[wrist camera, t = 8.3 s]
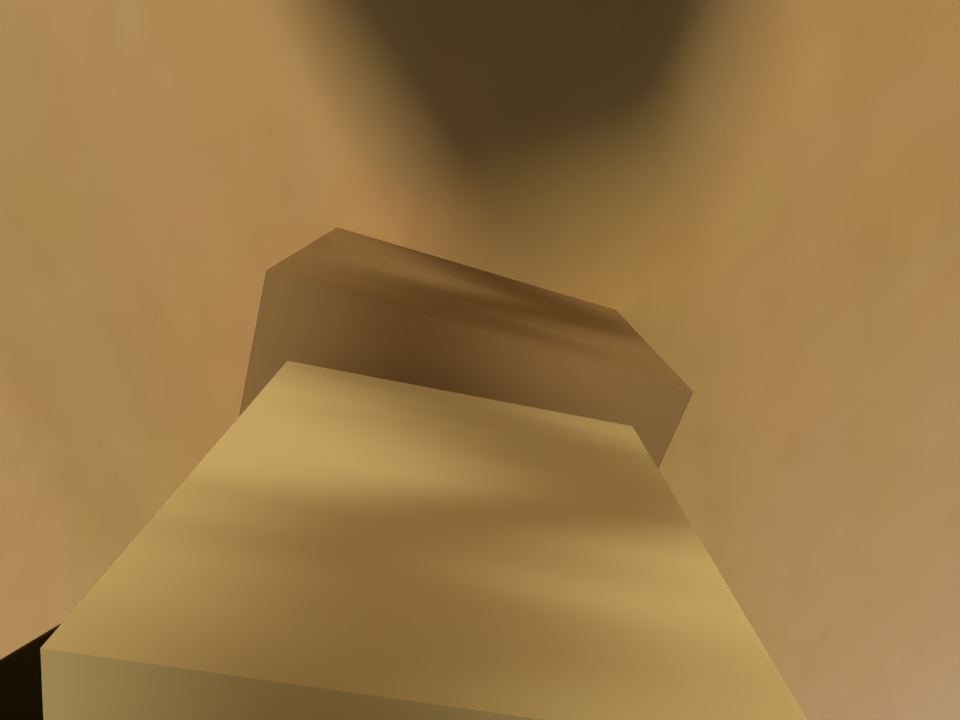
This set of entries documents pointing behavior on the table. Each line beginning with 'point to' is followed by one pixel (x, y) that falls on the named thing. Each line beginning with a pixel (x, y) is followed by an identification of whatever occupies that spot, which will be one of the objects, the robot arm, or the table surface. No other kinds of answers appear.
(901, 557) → the table surface
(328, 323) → the walnut block
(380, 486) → the oak block
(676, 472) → the table surface
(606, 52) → the table surface
